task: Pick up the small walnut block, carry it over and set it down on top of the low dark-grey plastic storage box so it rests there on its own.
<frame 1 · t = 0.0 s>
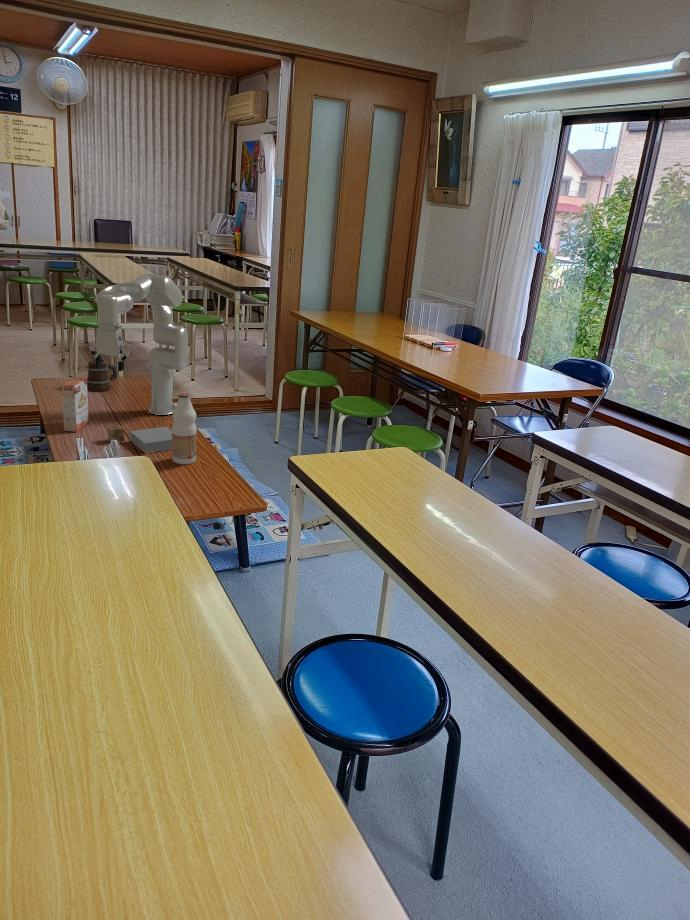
hand: (110, 369, 274), 31 cm above the table, tool pointing down, fingers open, 9 cm apart
mug: (102, 389, 354), on the table
walnut block: (116, 440, 286), on the table
grey box: (156, 445, 286), on the table
cracker box: (76, 427, 297), on the table
fruit juice: (184, 461, 272), on the table
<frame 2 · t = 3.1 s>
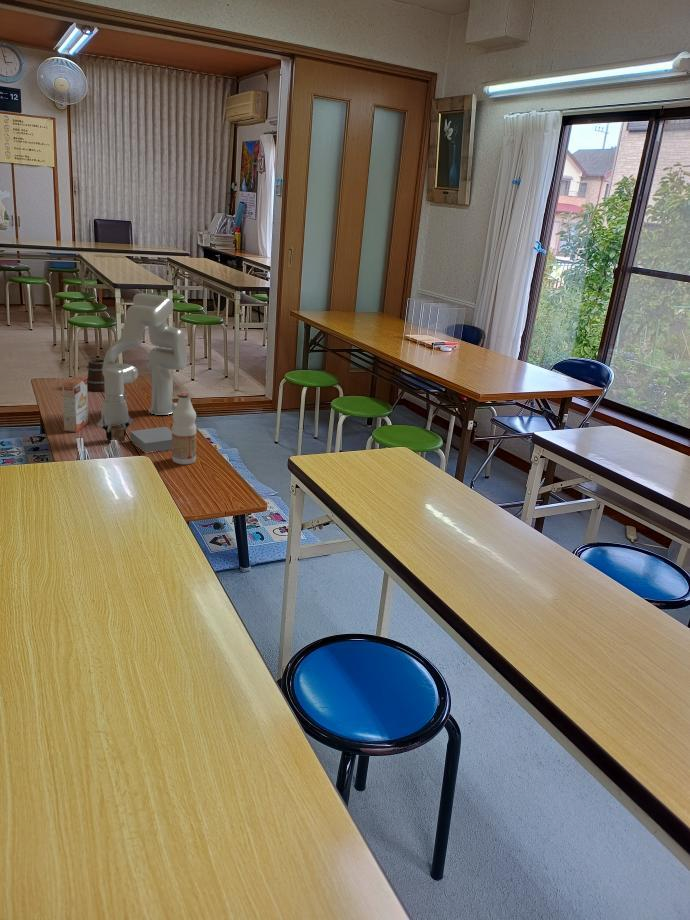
hand: (116, 438, 286), 1 cm above the table, tool pointing down, fingers closed on walnut block, 5 cm apart
walnut block: (116, 440, 286), on the table, touching gripper
everything else where it was.
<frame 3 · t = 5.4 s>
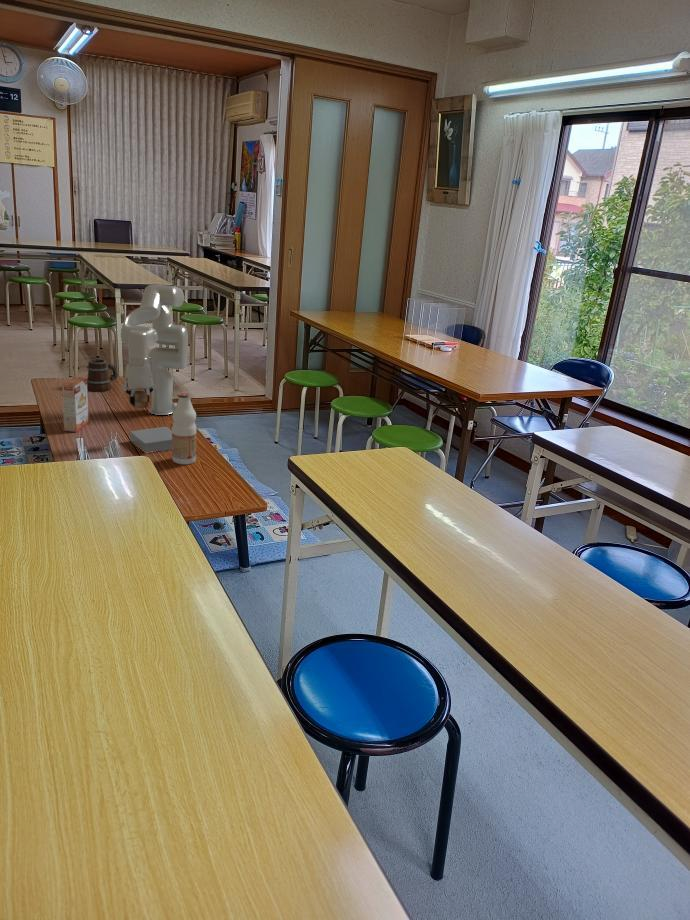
hand: (139, 403, 280), 17 cm above the table, tool pointing down, fingers closed on walnut block, 5 cm apart
walnut block: (139, 406, 280), point 16 cm above the table, touching gripper
everything else where it was.
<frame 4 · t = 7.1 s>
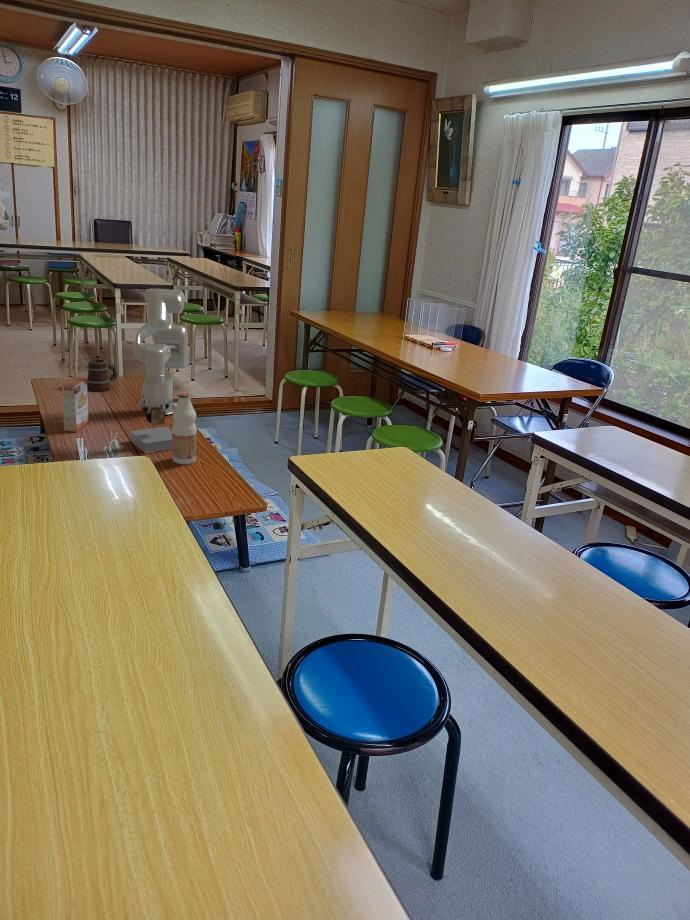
hand: (155, 420, 282), 11 cm above the table, tool pointing down, fingers closed on walnut block, 5 cm apart
walnut block: (155, 422, 282), point 10 cm above the table, touching gripper
everything else where it was.
when the fingers open (7 cm above the table, at t = 8.2 s): walnut block drops 1 cm, resting on grey box.
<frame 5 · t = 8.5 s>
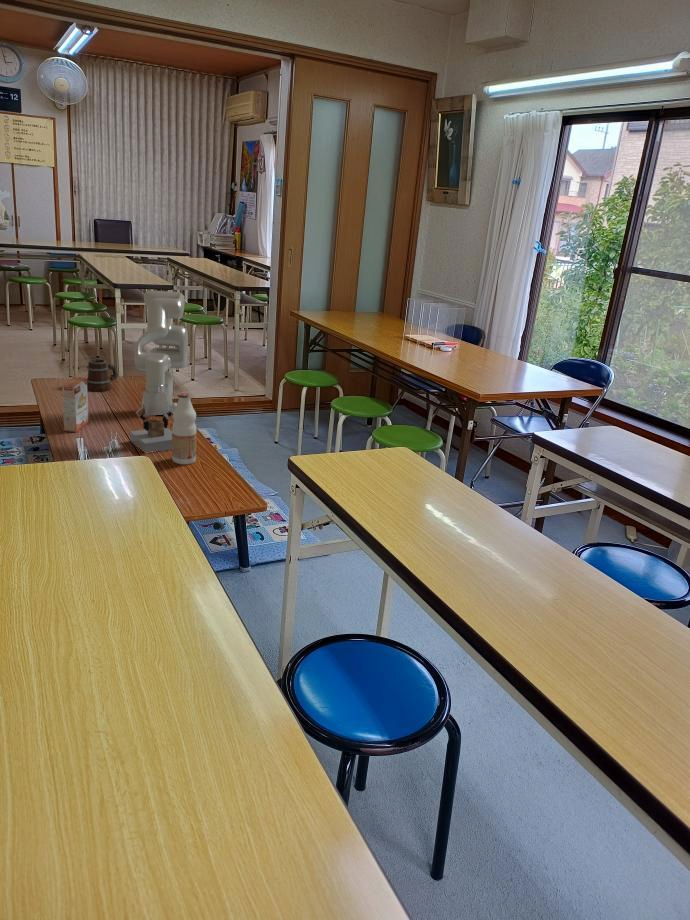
hand: (155, 428, 283), 7 cm above the table, tool pointing down, fingers open, 7 cm apart
walnut block: (155, 434, 284), point 4 cm above the table, touching grey box
grey box: (156, 446, 286), on the table, touching walnut block
everything else where it was.
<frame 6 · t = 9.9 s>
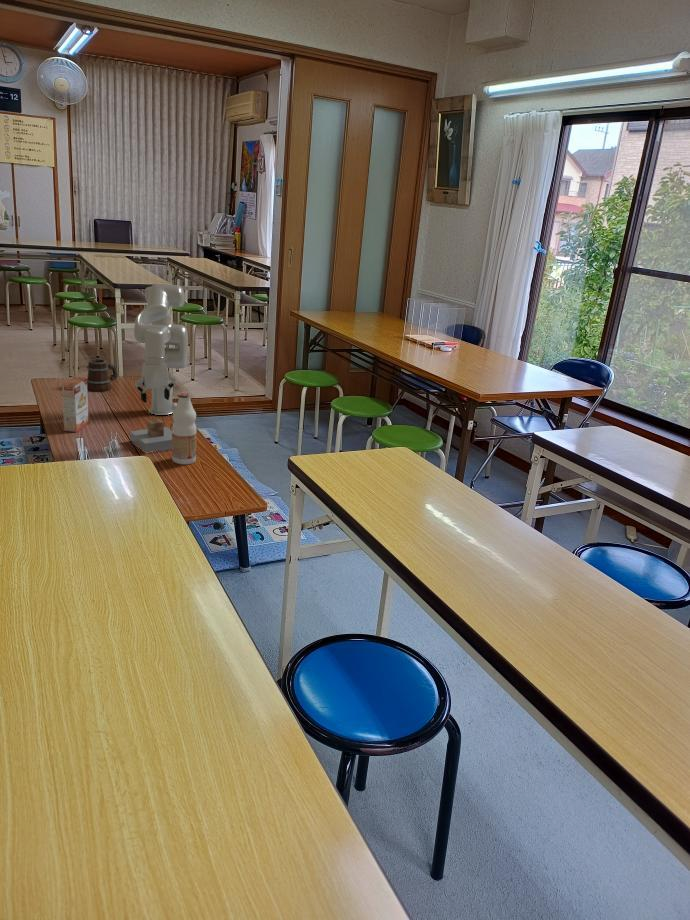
hand: (155, 400, 279), 19 cm above the table, tool pointing down, fingers open, 9 cm apart
walnut block: (155, 434, 284), point 4 cm above the table
grey box: (156, 445, 286), on the table
everything else where it was.
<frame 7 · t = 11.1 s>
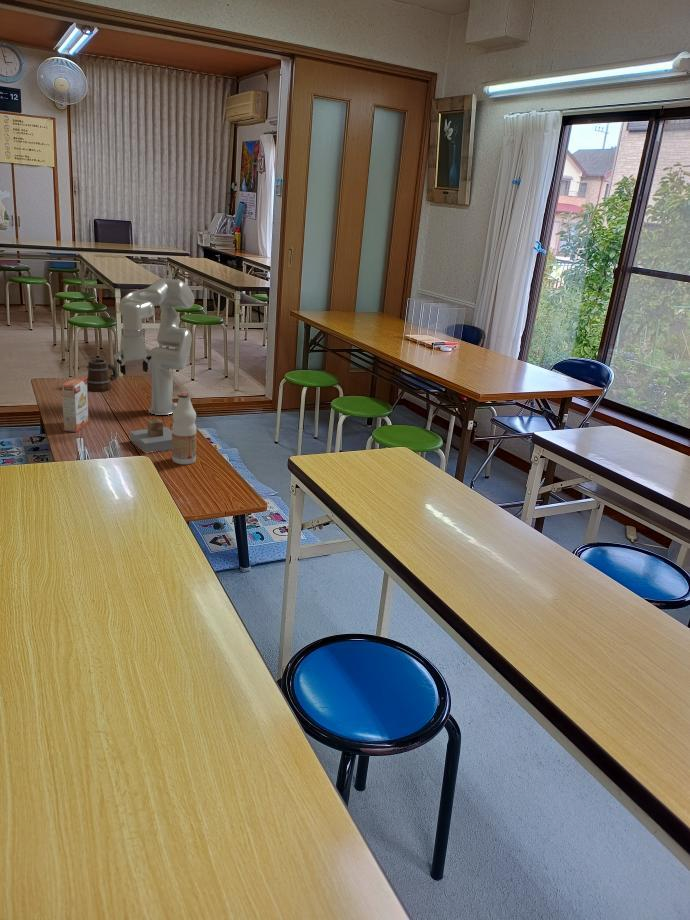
hand: (134, 372, 289), 27 cm above the table, tool pointing down, fingers open, 9 cm apart
nothing on the table moved.
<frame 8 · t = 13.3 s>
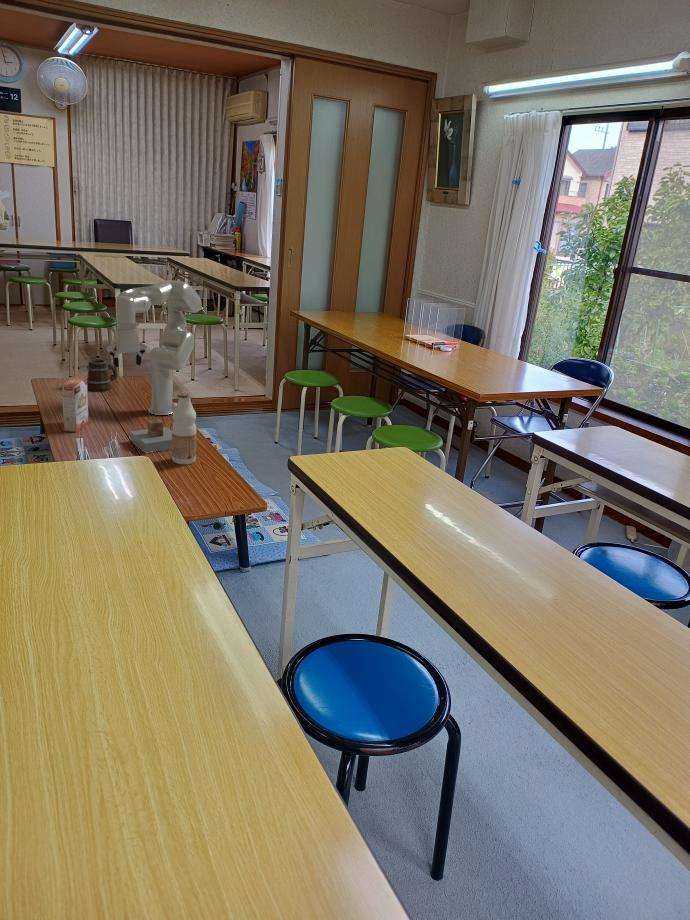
hand: (127, 365, 292), 28 cm above the table, tool pointing down, fingers open, 9 cm apart
walnut block: (155, 434, 284), point 4 cm above the table, touching grey box
grey box: (156, 445, 286), on the table, touching walnut block
everything else where it was.
at the end: walnut block inside the target area on the grey box (0.3 cm from its centre), point 5.0 cm above the grey box's base; walnut block tilted 0°; walnut block touching grey box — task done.
